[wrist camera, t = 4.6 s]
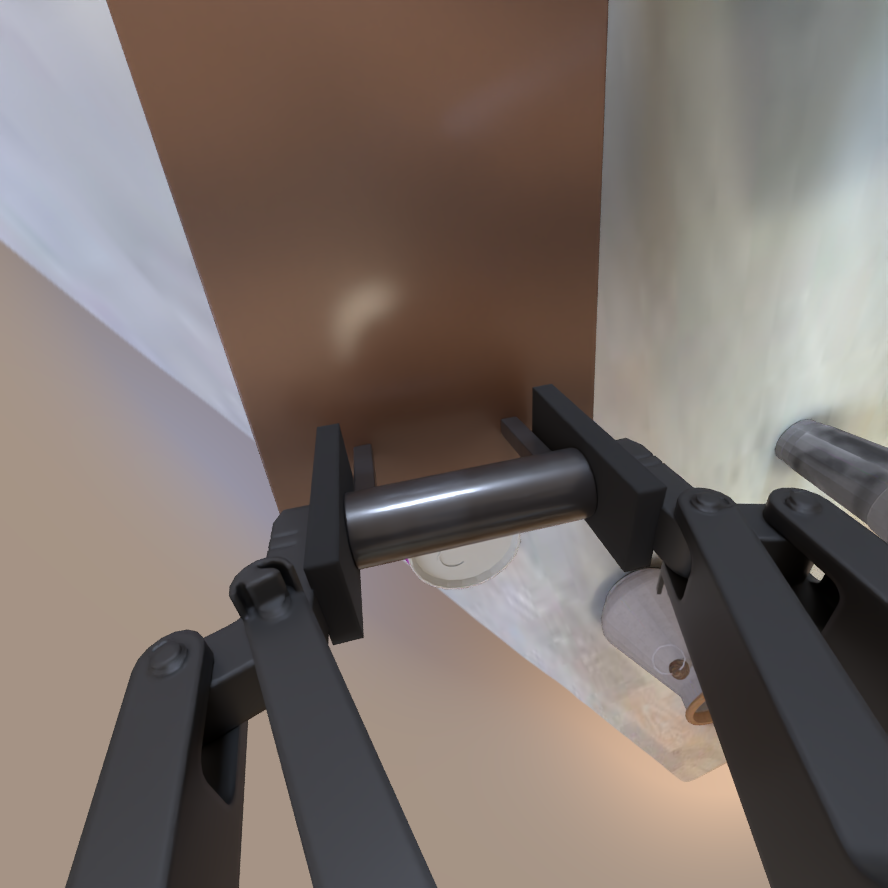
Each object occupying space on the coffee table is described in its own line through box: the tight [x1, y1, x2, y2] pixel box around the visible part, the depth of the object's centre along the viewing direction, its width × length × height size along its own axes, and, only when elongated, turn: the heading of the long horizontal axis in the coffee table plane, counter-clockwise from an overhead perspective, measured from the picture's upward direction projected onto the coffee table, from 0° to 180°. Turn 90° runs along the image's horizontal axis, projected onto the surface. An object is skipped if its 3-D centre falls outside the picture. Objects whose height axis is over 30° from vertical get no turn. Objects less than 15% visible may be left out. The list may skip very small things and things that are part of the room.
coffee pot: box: [601, 568, 713, 725], centre depth 40 cm, size 21×12×15 cm, turn 40°
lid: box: [106, 0, 609, 569], centre depth 11 cm, size 20×14×7 cm
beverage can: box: [405, 534, 521, 589], centre depth 28 cm, size 8×8×12 cm
